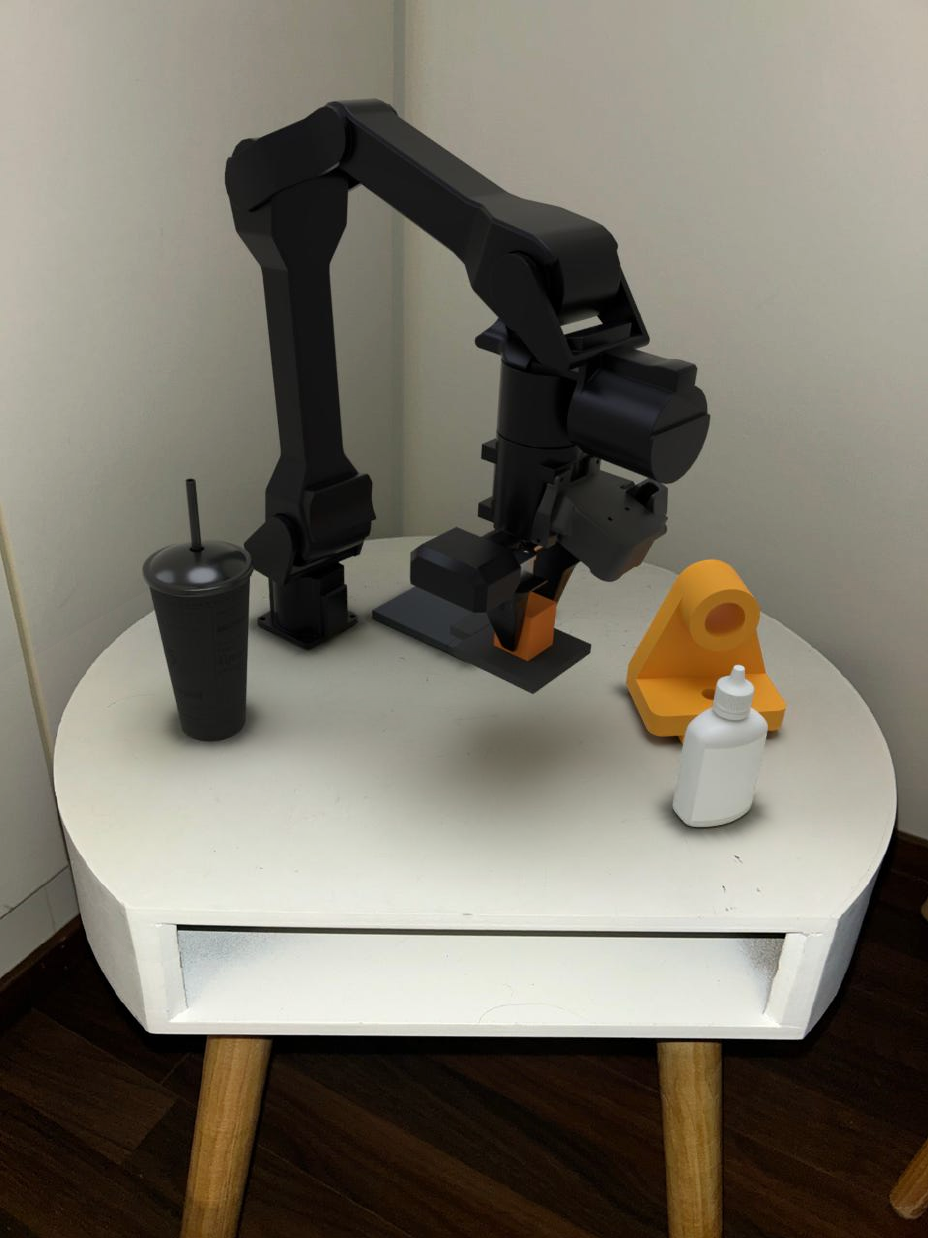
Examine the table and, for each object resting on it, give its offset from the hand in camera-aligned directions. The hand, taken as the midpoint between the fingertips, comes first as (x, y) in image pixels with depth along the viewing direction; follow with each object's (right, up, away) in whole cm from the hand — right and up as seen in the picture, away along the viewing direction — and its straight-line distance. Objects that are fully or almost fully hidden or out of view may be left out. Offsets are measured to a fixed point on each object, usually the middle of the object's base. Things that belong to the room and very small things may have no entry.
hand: (523, 639), depth 78 cm
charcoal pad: (-5, +2, +22) cm, 22 cm away
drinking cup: (-23, -6, +7) cm, 25 cm away
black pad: (0, -1, +1) cm, 1 cm away
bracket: (+15, -6, +10) cm, 19 cm away
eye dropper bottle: (+13, -12, 0) cm, 18 cm away
